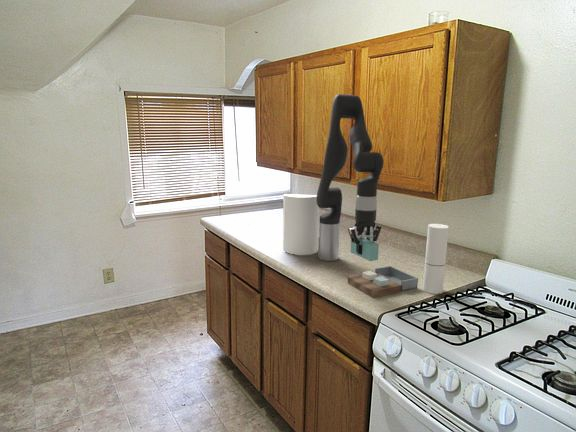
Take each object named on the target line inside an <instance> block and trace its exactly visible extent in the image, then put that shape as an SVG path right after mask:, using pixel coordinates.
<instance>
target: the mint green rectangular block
mask: <svg viewBox="0 0 576 432" xmlns="http://www.w3.org/2000/svg"><path fill="white" fill-rule="evenodd" d="M379 245H380V243H377V242H376V241H374V242H373V241H370V240H368V239H366V237H364V239H363V242H362V255H359V254H357V252H356V244H355V243H353V242H352V241H351V240H350V253H351V254H354V255H355V256H358V257H360V258H362V259H364V260H366V261H368V262H373V261H378V260H379V249H380V246H379Z"/></svg>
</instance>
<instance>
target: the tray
mask: <svg viewBox="0 0 576 432" xmlns="http://www.w3.org/2000/svg"><path fill="white" fill-rule="evenodd" d="M374 272H375V273H377V274H379V275H381V276H383V277H385V278H387V279H389V280H391V281H394V282H396V283H398V284H400V285H401V292H406V291H410V290H417V289H418V285H419V283H418V282H419V278H418V277H416V276H414V275H412V274H409V273H408V272H405V271H403V270H400V269H399V268H396V267H394V266H392V265H387V266H383V267H376V268H375V269H374Z"/></svg>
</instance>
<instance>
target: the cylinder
mask: <svg viewBox="0 0 576 432" xmlns="http://www.w3.org/2000/svg"><path fill="white" fill-rule="evenodd" d="M319 208H320V207H318V205H317V194H295V193H283V209H282V210H283V219H282V220H283V226H282V227H283V229H282V230H283V233H282V234H283V239H282V244H283V245H282V251H283V250H284V251H285V252H284V251H283V252H284V253H286V252H287V253H286V254H288V253H290V254H289V255H292V254H295V255H294V256H296V255H297V256H310V255H314V254H317V253H318V238H319V222H320V215H319V214H320V209H319Z"/></svg>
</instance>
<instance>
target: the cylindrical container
mask: <svg viewBox="0 0 576 432" xmlns="http://www.w3.org/2000/svg"><path fill="white" fill-rule="evenodd" d="M449 229H450V227H449V225H447V224H441V223H429V224H427V233H426V248H425V259H424V270H423V282H422V283H423V284H422V290H423V291H424V292H426V293H428V294H432V295H433V294H434V295H436V294H437V295H439V294H438V293H440V294H443V291H444V283H445V282H444V281H445V272H446V260H447V251H448V249H447V248H448V240H449V239H448V237H449Z"/></svg>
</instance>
